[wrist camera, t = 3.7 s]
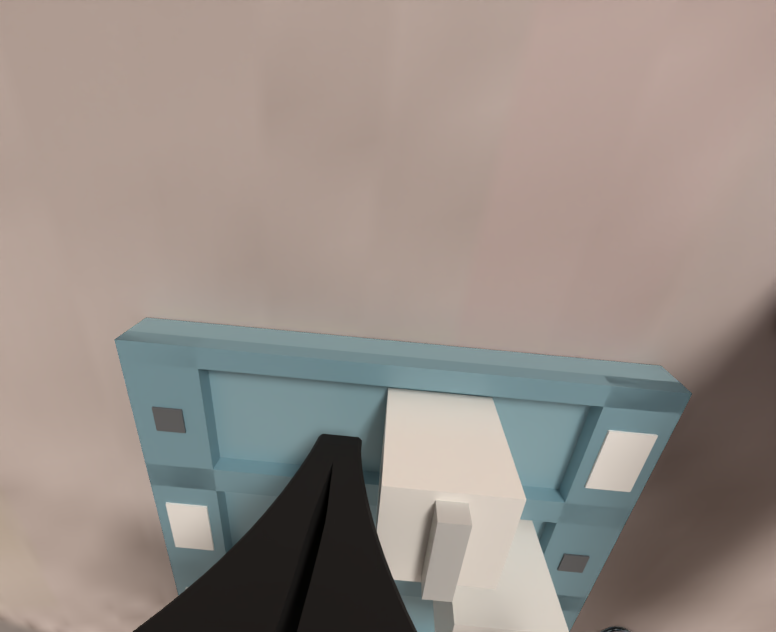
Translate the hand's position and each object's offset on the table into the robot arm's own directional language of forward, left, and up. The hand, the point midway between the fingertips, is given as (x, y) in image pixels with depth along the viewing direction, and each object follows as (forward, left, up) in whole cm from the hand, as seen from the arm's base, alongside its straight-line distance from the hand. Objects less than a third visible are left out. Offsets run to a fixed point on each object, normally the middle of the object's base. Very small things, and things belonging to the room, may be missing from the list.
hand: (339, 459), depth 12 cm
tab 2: (-6, +5, -2) cm, 8 cm away
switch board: (-2, +6, -3) cm, 6 cm away
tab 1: (-3, 0, -2) cm, 3 cm away
